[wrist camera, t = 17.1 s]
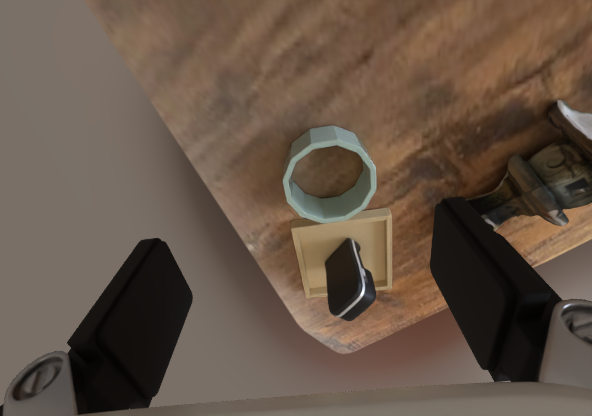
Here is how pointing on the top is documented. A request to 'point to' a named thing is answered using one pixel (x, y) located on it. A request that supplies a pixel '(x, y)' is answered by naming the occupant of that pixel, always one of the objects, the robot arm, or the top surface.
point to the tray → (329, 236)
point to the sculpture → (545, 175)
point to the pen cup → (333, 206)
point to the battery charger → (348, 282)
